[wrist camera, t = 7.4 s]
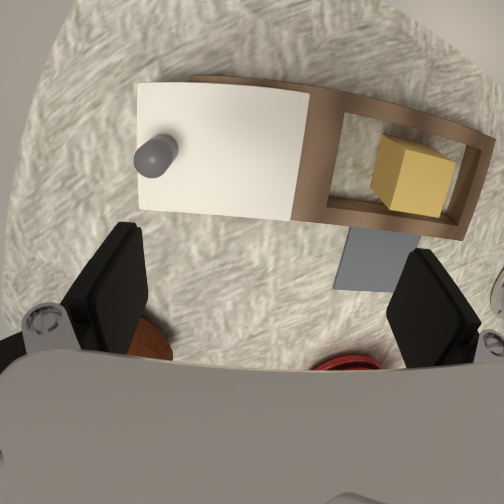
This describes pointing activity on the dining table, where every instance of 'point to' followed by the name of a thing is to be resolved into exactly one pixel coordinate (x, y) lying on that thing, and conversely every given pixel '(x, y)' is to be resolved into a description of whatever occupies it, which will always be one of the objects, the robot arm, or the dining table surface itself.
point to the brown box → (325, 151)
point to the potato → (150, 342)
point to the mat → (373, 259)
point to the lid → (219, 148)
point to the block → (411, 176)
